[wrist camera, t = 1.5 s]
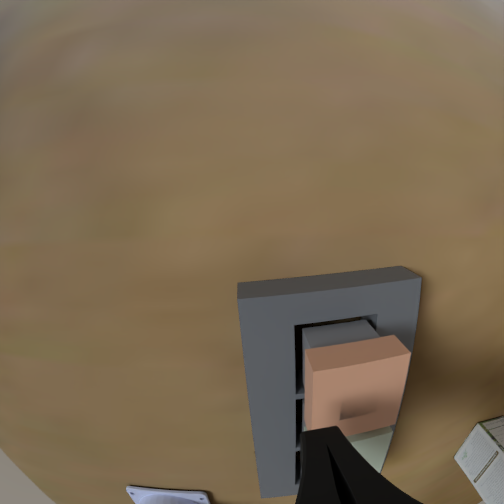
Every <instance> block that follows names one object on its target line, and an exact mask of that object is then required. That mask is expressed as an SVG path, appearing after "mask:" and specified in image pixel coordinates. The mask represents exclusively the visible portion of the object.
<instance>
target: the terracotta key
mask: <svg viewBox="0 0 504 504" xmlns="http://www.w3.org/2000/svg"><path fill="white" fill-rule="evenodd" d="M302 346H303V385H304V388H305V406H304V420H305V424H306V428H307V431H308V430H314V429H320V428H325V427H331V426H338V427H339V428H340V430H341V431H342V433H343V434H344V435H345V436H350V435H355V434H359V433H363V432H367V431H371V430H375V429H379V428H383V427H387V426H390V425H394V424H395V423H396V419H397V415H398V411H399V408H400V403H401V399H402V395H403V391H404V386H405V381H406V377H407V372H408V367H409V361H410V356H411V352H410V351H409V350H408V349H407V348H406V347H405V346H404V345H403V344H402V343H401V342H400V340H399V339H398V338H397V337H396V336H395V335H390V336H384V337H380V336H379V335H378V333H377V332H376V331H375V330H374V329H373V328H372V326H371V325H370V324H369V323H368V322H367V321H366V320H359V321H353V322H346V323H339V324H332V325H325V326H317V327H309V328H302Z"/></svg>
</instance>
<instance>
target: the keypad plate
mask: <svg viewBox="0 0 504 504" xmlns="http://www.w3.org/2000/svg"><path fill="white" fill-rule="evenodd" d="M421 280H422V278H421V277H420V276H418V275H416V274H415V273H413V272H411V271H409V270H408V269H406V268H404V267H403V266H395V267H387V268H379V269H370V270H362V271H353V272H344V273H335V274H325V275H316V276H306V277H296V278H285V279H275V280H264V281H253V282H242V283H238V292H237V300H238V310H239V319H240V328H241V338H242V347H243V356H244V365H245V373H246V382H247V390H248V399H249V407H250V416H251V424H252V432H253V440H254V448H255V455H256V463H257V471H258V478H259V486H260V493H261V498H270V497H280V496H288V495H296V494H298V490H299V485H300V480H301V463H300V462H295V454H296V451H300V434H301V433H302V423H296V399H303V398H305V388H304V385H303V369H302V370H295V336H294V325H300V324H308V323H316V322H324V321H332V320H339V319H346V318H353V317H359V316H361V319H360V320H366V321H367V322H368V323H369V324H370V325H371V326H372V328H373V329H374V330H375V331H376V332H377V333H378V335H379V336H380V337H384V336H390V335H395V336H396V337H397V338H398V339H399V340H400V342H401V343H402V344H403V345H404V346H405V347H406V348H407V349H408V350H409V351H410V352H411V356H410V361H409V367H408V372H407V377H408V373H409V368H410V362H411V357H412V351H413V345H414V339H415V333H416V326H417V318H418V310H419V301H420V292H421ZM407 377H406V381H405V386H404V391H405V387H406V382H407ZM404 391H403V395H402V399H401V403H400V408H401V404H402V400H403V396H404ZM400 408H399V411H398V415H397V419H398V416H399V412H400ZM397 419H396V423H397ZM396 423H395V424H394V425H390V427H391V429H392V431H393V434H394V430H395V427H396ZM393 434H392V437H393ZM392 437H391V440H392ZM391 440H390V444H391ZM390 444H389V447H390ZM389 447H388V450H389ZM388 450H387V453H388ZM387 453H386V456H387ZM386 456H385V459H386ZM385 459H384V462H385ZM384 462H383V465H384ZM383 465H382V468H383ZM382 468H381V471H382ZM381 471H380V474H381Z"/></svg>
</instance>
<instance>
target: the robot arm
mask: <svg viewBox="0 0 504 504" xmlns="http://www.w3.org/2000/svg"><path fill="white" fill-rule="evenodd" d="M300 463H301V480H300V485H299V490H298V494H297V499H296V503H295V504H423V503H421V502H419V501H417V500H415V499H414V498H412V497H411V496H409V495H407V494H406V493H404V492H403V491H401V490H400V489H399V488H397V487H396V486H394V485H393V484H392V483H391V482H389V481H388V480H387V479H386V478H385V477H383V476H382V475H381V474H380V473H379V472H378V471H377V470H376V469H374V468H373V467H372V466H371V465H370V464H369V463H368V462H367V461H366V460H365V459H364V458H363V456H362V455H361V454H360V453H359V452H358V451H357V450H356V449H355V448H354V446H353V445H352V444H351V443H350V442H349V440H348V439H347V438H346V437H345V435H344V434H343V433H342V431H341V430H340V428H339V427H338V426H331V427H325V428H320V429H314V430H308V431H303V432H302V433H301V434H300ZM126 491H127V492H128V493H129V495H130V496H131V498H132V499H133V501H134V502H135V504H210V501H209V498H208V496H207V494H206V493H205V492H201V491H177V490H163V489H152V488H142V487H134V486H127V487H126Z"/></svg>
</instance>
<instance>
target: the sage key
mask: <svg viewBox="0 0 504 504" xmlns="http://www.w3.org/2000/svg"><path fill="white" fill-rule="evenodd" d="M304 406H305V399H303V406H302V432H303V431H307V428H306V424H305V420H304ZM392 434H393V431H392V429H391V427H390V426H387V427H383V428H379V429H375V430H371V431H367V432H363V433H359V434H355V435H350V436H345V437H346V438H347V439H348V440H349V442H350V443H351V444H352V445H353V446H354V448H355V449H356V450H357V451H358V452H359V453H360V454H361V455H362V456H363V458H364V459H365V460H366V461H367V462H368V463H369V464H370V465H371V466H372V467H373V468H374V469H376V470H377V471H378V472H379V473H380V471H381V468H382V465H383V462H384V459H385V456H386V453H387V450H388V447H389V444H390V440H391V437H392Z"/></svg>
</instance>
